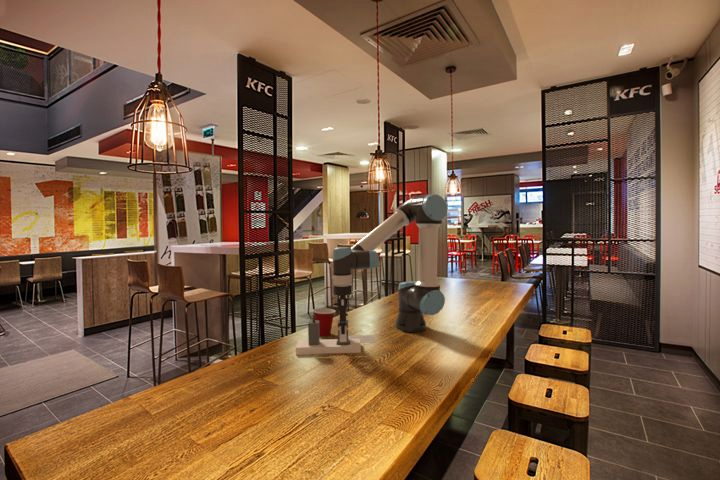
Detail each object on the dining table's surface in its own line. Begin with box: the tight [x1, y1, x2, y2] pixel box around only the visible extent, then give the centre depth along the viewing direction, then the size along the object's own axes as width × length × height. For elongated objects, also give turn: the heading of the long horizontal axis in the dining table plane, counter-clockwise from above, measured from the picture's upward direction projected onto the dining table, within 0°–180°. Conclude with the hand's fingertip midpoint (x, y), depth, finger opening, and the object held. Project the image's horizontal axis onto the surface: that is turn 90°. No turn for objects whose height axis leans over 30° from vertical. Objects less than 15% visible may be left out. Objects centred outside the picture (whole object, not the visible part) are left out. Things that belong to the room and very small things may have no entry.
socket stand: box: [295, 313, 362, 356], centre depth 150 cm, size 26×9×15 cm, turn 92°
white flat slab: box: [348, 334, 376, 344], centre depth 163 cm, size 12×10×1 cm
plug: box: [337, 319, 349, 345], centre depth 151 cm, size 4×4×12 cm
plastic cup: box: [312, 307, 337, 337], centre depth 170 cm, size 11×11×12 cm
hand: (343, 336), depth 151 cm, fingers open, 12 cm apart
